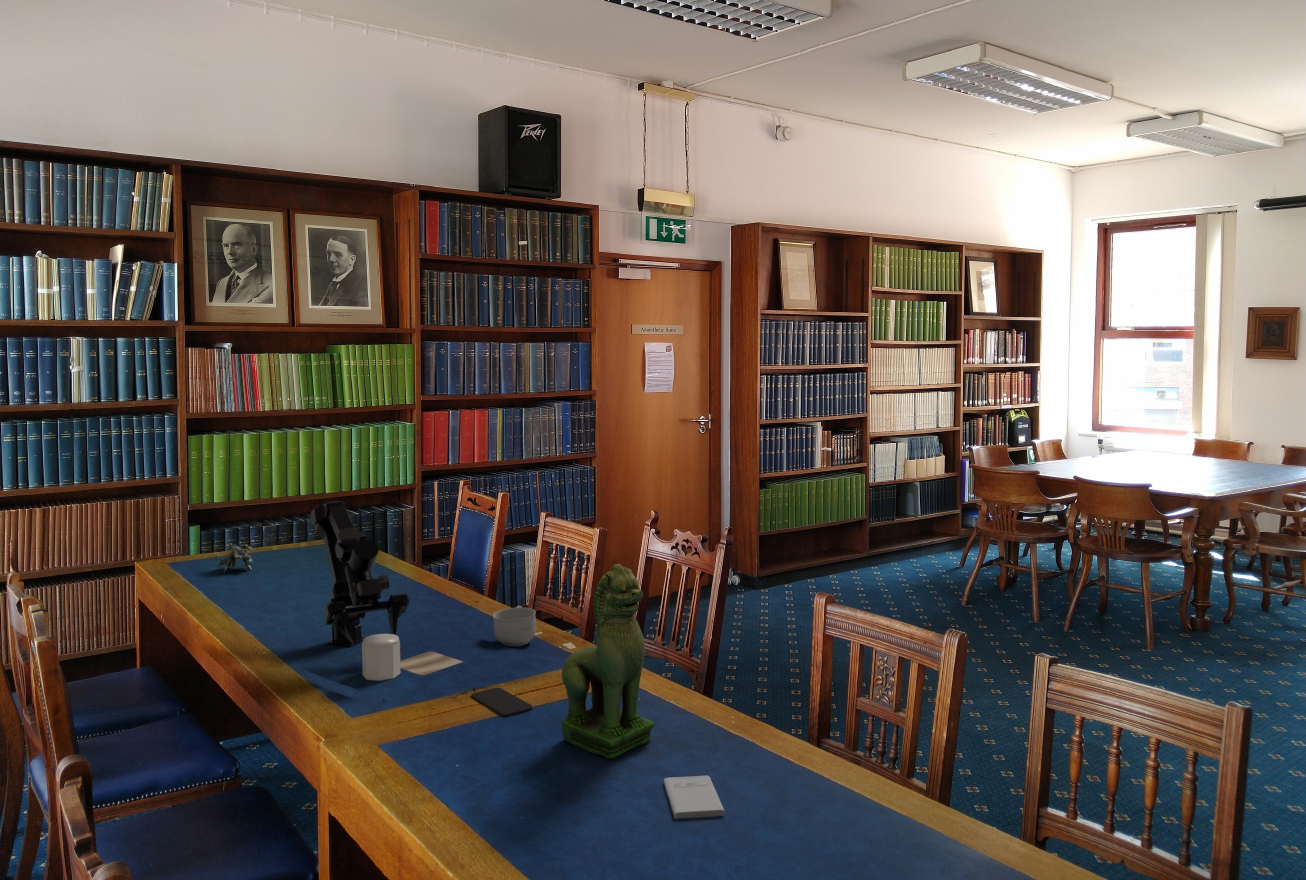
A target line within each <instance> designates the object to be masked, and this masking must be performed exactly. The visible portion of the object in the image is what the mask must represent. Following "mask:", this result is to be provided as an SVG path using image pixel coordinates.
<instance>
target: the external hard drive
mask: <svg viewBox="0 0 1306 880" xmlns="http://www.w3.org/2000/svg"><path fill="white" fill-rule="evenodd" d="M663 785H665V786H664V789H665V792H666V795H667V798H669V799H668V801H670V802H669V805H670V807H671V812H672V814H673V817H674V819H675V820H677V819H679V818H680V819H694V818H695V819H696V818H707V817H708V818H710V817H711V818H712V817H724V816H725V809H724V806H723V805H722V801H721V800H720V798H719V795H718V792H717V790H716V787H715V786H714V784H713V782H712V779H711V777H710V775H696V776H694V775H693V776H678V777H677V776H676V777H672V776H671V777H665V778H664V779H663ZM680 819H679V820H680Z"/></svg>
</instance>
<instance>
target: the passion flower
mask: <svg viewBox="0 0 1306 880" xmlns="http://www.w3.org/2000/svg"><path fill="white" fill-rule="evenodd" d="M245 547H246V549H244V550H243V548H241V547H239V546H238V545H237V544H232V543H231V542H229V543H228V546H227V548H228V549H229V550H230V552H228V556H227V557H224V558H223V559H222V558H220V557H218V555H217V554H214V561H217V559H218V560H220V562H219V563H218V565H217V567H216V568H219V567H221V565H222V566H224V571H223V573H226V571H227V569H228V568H230V567H231V568H232V569H233V568H234V567H236V563H237V559H240V560H241V559H242V561H243V563H244V565H245V567H246V569H247V570H248V571H252V570H253V569H252V566H251V565H252V564H253V561H254V559H253V558H252V557H251V555H250V554H248V551H251V553H254V549H253V548H252V547H251V546H249V544H247V543H245Z"/></svg>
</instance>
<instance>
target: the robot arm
mask: <svg viewBox="0 0 1306 880" xmlns="http://www.w3.org/2000/svg"><path fill="white" fill-rule="evenodd" d="M310 522H311V525H312V526H313V527H314V531H315V533H316V535H318V536H319V537H320V538H321V539H323V541H324V546H325V551H326V556H327V560H328V564H329V569H330V573H331V579H332V583H333V588H332V589H331V593H330V596H329V598H328V602H327V604H326V606H325V610H324V613H323V621H324V625H325V626H330V625H331V635H332V636H331V640H330V641H328V642H327V643H328V645H333V646H340V647H341V646H343V647H351V646H354V645H356V644H357V643H359V642H363V639H364V638H365V636H362V624H361V619H365V617H366V614H367V613H369V612H378V611H385V610H387V613H388V616H387V620H388V623H389V629H390V634H394V635H397V630H398V629H397V627H398V621H399V618H401V617H402V615H404V614H405V613H406V611H407V610H408V607H409V605H410V603H411V601H410V598H409V597H410V596H409V595H408V594H407V593H405V592H404V593H403V592H402V593H400V592H399V593H395V594H390V595H389V598H388V600H385V601H384V600H383V601H379V600H380V599H381V597H382V593H383V591H385V590H388V589H389V588H390V586H391V584H390V579H389V576H388V574H382V575H380V576H378V577H377V578H373V573H372V569H373V568H374V567H375V566H374V565H375V564H376V561H377V557H378V554H379V549H380V548H379V546H378V545H377V544H376V542H374V541H373V540H370V539H368V536H367V535H365V534H364V532H363V531H360V530H358V529H356V528H355V525H354V524H353V522H352V519H351V517H350V514H349V512H348V506H347V503H346V502H345V501H342V500H340V501H337V500H336V501H328V502H325V503H323V505H319V506H316V507H314V508H313V509H312V510H311V512H310Z"/></svg>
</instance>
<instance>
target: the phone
mask: <svg viewBox="0 0 1306 880" xmlns="http://www.w3.org/2000/svg"><path fill="white" fill-rule="evenodd" d="M470 696H471V698H472V699H473V700H475V701H477V702H478V703H480V704H481V705H483V706H485V707H486V708H488V709H489V710H491V711H493V712H494V713H495V714H497V715H499V716H501V717H504V718H507V717H512V716H515V715H519V714H522V713H523V714H524V713H526V712H529V711H532V710H533V708H534V706H533V705H532V704H531V703H528V702H527V701H524V700H523V699H521V698H520V697H518V696H516V695H514V694H512V693H510V692H509V691H507V690H505V689H504V688H502V687H494V688H489V689H486V690H481V691H477V692H474V693H471V694H470Z"/></svg>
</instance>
